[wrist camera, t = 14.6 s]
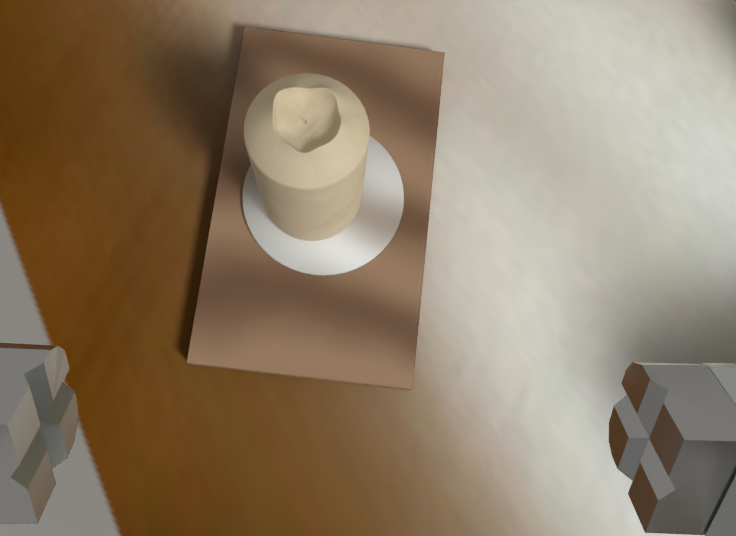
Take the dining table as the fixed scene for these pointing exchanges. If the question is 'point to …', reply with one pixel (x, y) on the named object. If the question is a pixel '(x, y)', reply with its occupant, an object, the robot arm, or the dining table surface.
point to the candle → (308, 154)
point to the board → (333, 255)
